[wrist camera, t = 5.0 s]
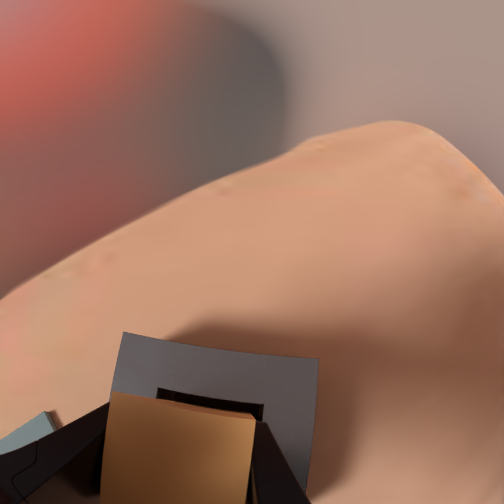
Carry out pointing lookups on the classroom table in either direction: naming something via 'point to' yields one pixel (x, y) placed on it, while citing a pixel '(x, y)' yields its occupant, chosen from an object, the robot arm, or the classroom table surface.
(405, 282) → the classroom table surface
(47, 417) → the pad
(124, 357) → the socket block
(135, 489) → the peg
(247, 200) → the classroom table surface
